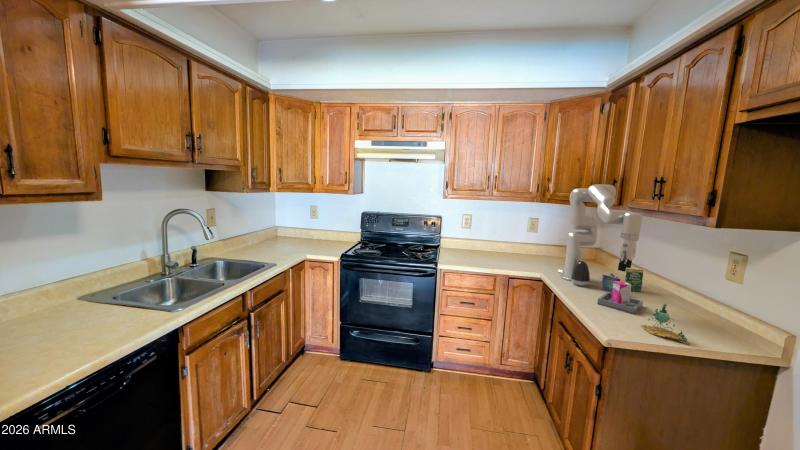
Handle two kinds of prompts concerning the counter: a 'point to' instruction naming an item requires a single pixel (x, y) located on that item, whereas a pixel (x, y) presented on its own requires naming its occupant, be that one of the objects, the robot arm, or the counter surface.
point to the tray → (632, 308)
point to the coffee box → (634, 279)
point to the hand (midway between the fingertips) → (624, 269)
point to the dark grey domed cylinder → (581, 274)
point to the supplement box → (621, 292)
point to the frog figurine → (663, 318)
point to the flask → (608, 282)
